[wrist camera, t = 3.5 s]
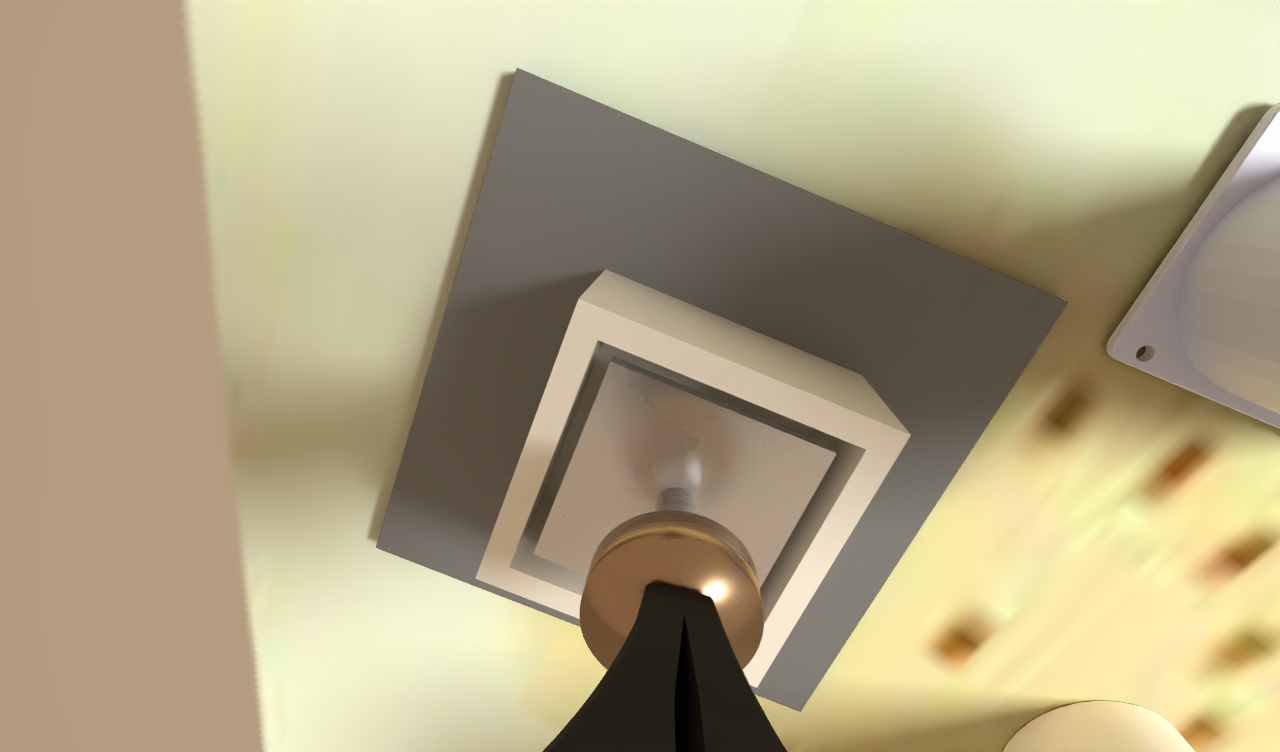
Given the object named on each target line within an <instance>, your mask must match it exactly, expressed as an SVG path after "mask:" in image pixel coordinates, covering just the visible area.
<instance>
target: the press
mask: <svg viewBox="0 0 1280 752" xmlns="http://www.w3.org/2000/svg"><path fill="white" fill-rule="evenodd" d="M613 356H614V357H617V358H619V359H622V360H624V361H626V362H629V363H631V364H634V365H636V366H639V367H641V368H644V369H646V370H649V371H651V372H654V373H656V374H658V375H661V376H663V377H666V378H668V379H671V380H673V381H676V382H678V383H681V384H683V385H685V386H688V387H690V388H693V389H695V390H698V391H700V392H703V393H705V394H708V395H710V396H712V397H715V398H717V399H720V400H722V401H725V402H727V403H730V404H732V405H735V406H737V407H739V408H742V409H744V410H747V411H749V412H752V413H754V414H757V415H759V416H762V417H764V418H766V419H769V420H771V421H774V422H776V423H779V424H781V425H784V426H786V427H789V428H791V429H793V430H796V431H798V432H801V433H803V434H806V435H808V436H811V437H813V438H816V439H818V440H820V441H823V442H825V443H828V444H830V445H833V447H834V449H835V451H836V453H837V454H836V456H835V458H834V459H833V461H832V463H831V465H830V466H829V468H828V470H827V472H826V473H825V475H824V477H823V479H822V480H821V482H820V484H819V486H818V488H817V489H816V491H815V493H814V495H813V496H812V498H811V500H810V502H809V503H808V505H807V507H806V509H805V510H804V512H803V514H802V516H801V517H800V519H799V521H798V523H797V524H796V526H795V528H794V530H793V531H792V533H791V535H790V537H789V538H788V540H787V542H786V544H785V545H784V547H783V549H782V551H781V553H780V554H779V556H778V558H777V560H776V561H775V563H774V565H773V567H772V568H771V570H770V572H769V574H768V575H767V577H766V579H765V581H764V582H763V584H762V586H761V588H760V596H761V602H762V609H763V615H764V629H763V636H762V639H761V642H760V646H759V648H758V650H757V652H756V654H755V655H754V657H753V658H752V660H751V661H750V663H749V664H748V665H747V666H746V667H745V668H744V669H743V672H744V674H745V676H746V678H747V680H748V682H749V684H750V685H751V686H754V687H756V688H757V687H758V685H759V684H760V682H761V680H762V679H763V677H764V675H765V674H766V672H767V671H768V669H769V667H770V666H771V664H772V662H773V661H774V659H775V657H776V656H777V654H778V652H779V651H780V649H781V648H782V646H783V644H784V643H785V641H786V639H787V638H788V636H789V634H790V633H791V631H792V629H793V628H794V626H795V625H796V623H797V621H798V620H799V618H800V616H801V615H802V613H803V611H804V610H805V608H806V606H807V605H808V603H809V602H810V600H811V598H812V597H813V595H814V593H815V592H816V590H817V588H818V587H819V585H820V583H821V582H822V580H823V579H824V577H825V575H826V574H827V572H828V570H829V569H830V567H831V565H832V564H833V562H834V561H835V559H836V557H837V556H838V554H839V552H840V551H841V549H842V547H843V546H844V544H845V542H846V541H847V539H848V538H849V536H850V534H851V533H852V531H853V529H854V528H855V526H856V524H857V523H858V521H859V519H860V518H861V516H862V515H863V513H864V511H865V510H866V508H867V506H868V505H869V503H870V501H871V500H872V498H873V496H874V495H875V493H876V492H877V490H878V488H879V487H880V485H881V483H882V482H883V480H884V478H885V477H886V475H887V473H888V472H889V470H890V469H891V467H892V465H893V464H894V462H895V460H896V459H897V457H898V455H899V454H900V452H901V451H902V449H903V447H904V446H905V444H906V442H907V441H908V439H909V437H910V436H911V435H910V433H909V432H908V431H907V430H906V428H905V427H904V426H903V425H902V423H901V422H900V421H899V420H898V419H897V417H896V416H895V415H894V414H893V412H892V411H891V410H890V409H889V408H888V406H887V405H886V404H885V403H884V401H883V400H882V399H881V398H880V397H879V395H878V394H877V393H876V392H875V390H874V389H873V388H872V387H871V386H870V384H869V383H868V382H867V381H866V379H865V378H864V377H863V376H862V375H860V374H858V373H855V372H853V371H851V370H848V369H846V368H843V367H841V366H839V365H836V364H834V363H831V362H829V361H826V360H824V359H822V358H819V357H817V356H814V355H812V354H809V353H807V352H805V351H802V350H800V349H797V348H795V347H793V346H790V345H788V344H785V343H783V342H780V341H778V340H776V339H773V338H771V337H768V336H766V335H764V334H761V333H759V332H756V331H754V330H751V329H749V328H747V327H744V326H742V325H739V324H737V323H734V322H732V321H730V320H727V319H725V318H722V317H720V316H718V315H715V314H713V313H710V312H708V311H705V310H703V309H701V308H698V307H696V306H693V305H691V304H689V303H686V302H684V301H681V300H679V299H676V298H674V297H672V296H669V295H667V294H664V293H662V292H660V291H657V290H655V289H652V288H650V287H647V286H645V285H643V284H640V283H638V282H635V281H633V280H630V279H628V278H626V277H623V276H621V275H618V274H616V273H614V272H611V271H609V270H606V269H605V270H604V272H603V273H602V274H601V275H600V276H599V277H598V278H597V279H596V280H595V281H594V282H593V283H592V285H591V286H590V287H589V288H588V289H587V290H586V291H585V292H584V293H583V294H582V295H581V297H580V298H579V299H578V302H577V304H576V307H575V310H574V312H573V315H572V318H571V320H570V323H569V326H568V329H567V331H566V334H565V337H564V339H563V342H562V345H561V348H560V350H559V353H558V356H557V358H556V361H555V364H554V367H553V369H552V372H551V375H550V377H549V380H548V383H547V386H546V388H545V391H544V394H543V396H542V399H541V402H540V405H539V407H538V410H537V413H536V415H535V418H534V421H533V423H532V426H531V429H530V432H529V434H528V437H527V440H526V442H525V445H524V448H523V451H522V453H521V456H520V459H519V461H518V464H517V467H516V470H515V472H514V475H513V478H512V480H511V483H510V486H509V489H508V491H507V494H506V497H505V499H504V502H503V505H502V508H501V510H500V513H499V516H498V518H497V521H496V524H495V527H494V529H493V532H492V535H491V537H490V540H489V543H488V545H487V548H486V551H485V554H484V556H483V559H482V562H481V564H480V567H479V570H478V573H477V575H476V578H475V579H477V580H480V581H483V582H485V583H488V584H490V585H493V586H495V587H498V588H501V589H503V590H506V591H508V592H511V593H514V594H516V595H519V596H521V597H524V598H526V599H529V600H532V601H534V602H537V603H539V604H542V605H545V606H547V607H550V608H552V609H555V610H557V611H560V612H563V613H565V614H568V615H570V616H573V617H576V618H578V619H580V618H579V615H580V603H581V598H582V594H583V590H584V587H585V583H586V579H587V575H585V574H582V573H580V572H577V571H574V570H572V569H569V568H567V567H564V566H562V565H559V564H557V563H554V562H551V561H549V560H546V559H544V558H541V557H539V556H536V555H534V554H533V553H534V551H535V548H536V546H537V543H538V541H539V538H540V536H541V533H542V531H543V528H544V526H545V523H546V521H547V518H548V516H549V513H550V511H551V508H552V506H553V503H554V501H555V498H556V496H557V493H558V491H559V489H560V486H561V484H562V481H563V479H564V476H565V474H566V471H567V469H568V466H569V464H570V461H571V459H572V456H573V454H574V451H575V449H576V446H577V444H578V441H579V439H580V436H581V434H582V431H583V429H584V426H585V424H586V421H587V419H588V416H589V414H590V411H591V409H592V406H593V404H594V401H595V399H596V396H597V394H598V392H599V389H600V387H601V384H602V382H603V379H604V377H605V374H606V372H607V369H608V367H609V364H610V362H611V359H612V357H613Z"/></svg>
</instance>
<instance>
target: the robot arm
mask: <svg viewBox="0 0 1280 752" xmlns="http://www.w3.org/2000/svg"><path fill="white" fill-rule="evenodd" d="M1143 346H1145V348H1146V350H1145V353H1144V354H1143V355H1142V356H1141V357H1138V358H1136V353H1137V351H1138V350H1139V349H1140V348H1141V347H1143ZM1106 350H1107V352H1108V354H1109V356H1111V357H1112V358H1113V359H1116V360H1118V361H1120V362H1122V363H1125V364H1127V365H1129V366H1132V367H1134V368H1137V369H1139V370H1141V371H1144V372H1146V373H1148V374H1151V375H1153V376H1155V377H1158V378H1160V379H1163V380H1165V381H1167V382H1170V383H1172V384H1174V385H1177V386H1179V387H1182V388H1184V389H1186V390H1189V391H1191V392H1193V393H1196V394H1198V395H1200V396H1203V397H1205V398H1208V399H1210V400H1212V401H1215V402H1217V403H1219V404H1222V405H1224V406H1226V407H1229V408H1231V409H1234V410H1236V411H1238V412H1241V413H1243V414H1245V415H1248V416H1250V417H1253V418H1255V419H1257V420H1260V421H1262V422H1264V423H1267V424H1269V425H1271V426H1274V427H1276V428H1279V429H1280V103H1278V104H1276V105H1274V106H1272V107H1271V108H1270V109H1269V110H1268V111H1267V112H1266V113H1265V114H1264V116H1263V117H1262V119H1261V120H1260V121H1259V123H1258V124H1257V126H1256V127H1255V129H1254V130H1253V132H1252V133H1251V134H1250V136H1249V137H1248V139H1247V140H1246V142H1245V143H1244V145H1243V146H1242V147H1241V149H1240V150H1239V152H1238V153H1237V155H1236V156H1235V158H1234V159H1233V160H1232V162H1231V163H1230V165H1229V166H1228V168H1227V169H1226V171H1225V172H1224V173H1223V175H1222V176H1221V178H1220V179H1219V181H1218V182H1217V184H1216V185H1215V186H1214V188H1213V189H1212V191H1211V192H1210V194H1209V195H1208V197H1207V198H1206V199H1205V201H1204V202H1203V204H1202V205H1201V207H1200V208H1199V210H1198V211H1197V212H1196V214H1195V215H1194V217H1193V218H1192V220H1191V221H1190V223H1189V224H1188V225H1187V227H1186V228H1185V230H1184V231H1183V233H1182V234H1181V236H1180V237H1179V239H1178V240H1177V241H1176V243H1175V244H1174V246H1173V247H1172V249H1171V250H1170V252H1169V253H1168V254H1167V256H1166V257H1165V259H1164V260H1163V262H1162V263H1161V265H1160V266H1159V267H1158V269H1157V270H1156V272H1155V273H1154V275H1153V276H1152V278H1151V279H1150V280H1149V282H1148V283H1147V285H1146V286H1145V288H1144V289H1143V291H1142V292H1141V293H1140V295H1139V296H1138V298H1137V299H1136V301H1135V302H1134V304H1133V305H1132V306H1131V308H1130V309H1129V311H1128V312H1127V314H1126V315H1125V317H1124V318H1123V319H1122V321H1121V322H1120V324H1119V325H1118V327H1117V328H1116V330H1115V331H1114V332H1113V334H1112V335H1111V337H1110V338H1109V340H1108V342H1107V349H1106ZM543 752H787V751H786V749H785V747H784V746H783V744H782V742H781V741H780V739H779V738H778V736H777V734H776V732H775V731H774V729H773V727H772V726H771V724H770V722H769V720H768V718H767V717H766V715H765V713H764V711H763V709H762V708H761V706H760V704H759V702H758V700H757V698H756V696H755V694H754V692H753V690H752V688H751V687H750V684H749V682H748V680H747V678H746V676H745V674H744V672H743V670H742V668H741V666H740V664H739V661H738V659H737V657H736V655H735V653H734V650H733V648H732V646H731V643H730V641H729V639H728V636H727V634H726V632H725V629H724V627H723V624H722V622H721V619H720V616H719V614H718V611H717V608H716V606H715V603H714V601H713V599H712V598H711V596H707V595H703V594H699V593H695V592H691V591H687V590H683V589H679V588H675V587H671V586H667V585H663V584H659V583H655V582H651V583H649V584H647V585H646V587H645V590H644V594H643V597H642V601H641V604H640V608H639V611H638V615H637V618H636V621H635V623H634V625H633V627H632V629H631V631H630V633H629V635H628V637H627V639H626V641H625V643H624V645H623V646H622V648H621V650H620V652H619V653H618V655H617V657H616V658H615V660H614V661H613V663H612V664H611V666H610V668H609V669H608V671H607V672H606V674H605V675H604V677H603V678H602V680H601V681H600V683H599V684H598V686H597V687H596V688H595V690H594V691H593V693H592V694H591V695H590V697H589V698H588V699H587V701H586V702H585V703H584V704H583V706H582V707H581V708H580V710H579V711H578V712H577V713H576V714H575V716H574V717H573V718H572V719H571V720H570V722H569V723H568V724H567V725H566V726H565V727H564V729H563V730H562V731H561V732H560V733H559V734H558V735H557V737H556V738H555V739H554V740H553V741H552V742H551V743H550V744H549V745H548V746H547V747H546V748H545V750H544V751H543Z"/></svg>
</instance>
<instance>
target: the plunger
mask: <svg viewBox="0 0 1280 752" xmlns="http://www.w3.org/2000/svg"><path fill="white" fill-rule="evenodd" d="M836 454H837V453H836V451H835V449H834V447H833V445H830V444H828V443H825V442H823V441H820V440H818V439H816V438H813V437H811V436H808V435H806V434H803V433H801V432H798V431H796V430H793V429H791V428H789V427H786V426H784V425H781V424H779V423H776V422H774V421H771V420H769V419H766V418H764V417H762V416H759V415H757V414H754V413H752V412H749V411H747V410H744V409H742V408H739V407H737V406H735V405H732V404H730V403H727V402H725V401H722V400H720V399H717V398H715V397H712V396H710V395H708V394H705V393H703V392H700V391H698V390H695V389H693V388H690V387H688V386H685V385H683V384H681V383H678V382H676V381H673V380H671V379H668V378H666V377H663V376H661V375H658V374H656V373H654V372H651V371H649V370H646V369H644V368H641V367H639V366H636V365H634V364H631V363H629V362H626V361H624V360H622V359H619V358H617V357H614V356H613V357H612V359H611V362H610V364H609V367H608V369H607V372H606V374H605V377H604V379H603V382H602V384H601V387H600V389H599V392H598V394H597V396H596V399H595V401H594V404H593V406H592V409H591V411H590V414H589V416H588V419H587V421H586V424H585V426H584V429H583V431H582V434H581V436H580V439H579V441H578V444H577V446H576V449H575V451H574V454H573V456H572V459H571V461H570V464H569V466H568V469H567V471H566V474H565V476H564V479H563V481H562V484H561V486H560V489H559V491H558V493H557V496H556V498H555V501H554V503H553V506H552V508H551V511H550V513H549V516H548V518H547V521H546V523H545V526H544V528H543V531H542V533H541V536H540V538H539V541H538V543H537V546H536V548H535V551H534V553H533V554H534V555H536V556H539V557H541V558H544V559H546V560H549V561H551V562H554V563H557V564H559V565H562V566H564V567H567V568H569V569H572V570H574V571H577V572H580V573H582V574H585V575H587V579H586V583H585V587H584V590H583V594H582V598H581V603H580V615H579V618H580V625H581V630H582V633H583V637H584V639H585V641H586V643H587V645H588V647H589V649H590V650H591V652H592V654H593V655H594V656H595V657H596V659H597V660H598V661H599V662H600V663H601V664H602V665H603V666H604V667H605V668H606V669H607V670H608V669H609V668H610V666H611V664H612V663H613V661H614V660H615V658H616V657H617V655H618V653H619V652H620V650H621V648H622V646H623V645H624V643H625V641H626V639H627V637H628V635H629V633H630V631H631V629H632V627H633V625H634V623H635V621H636V618H637V615H638V611H639V608H640V604H641V601H642V597H643V594H644V590H645V587H646V585H647V584H649V583H651V582H655V583H659V584H663V585H667V586H671V587H675V588H679V589H683V590H687V591H691V592H695V593H699V594H703V595H707V596H711V598H712V599H713V601H714V603H715V606H716V608H717V611H718V614H719V616H720V619H721V622H722V624H723V627H724V629H725V632H726V634H727V636H728V639H729V641H730V643H731V646H732V648H733V650H734V653H735V655H736V657H737V659H738V661H739V664H740V666H741V668H742V670H743V669H744V668H745V667H746V666H747V665H748V664H749V663H750V661H751V660H752V658H753V657H754V655H755V654H756V652H757V650H758V648H759V646H760V642H761V639H762V636H763V629H764V615H763V609H762V602H761V596H760V588H761V586H762V584H763V582H764V581H765V579H766V577H767V575H768V574H769V572H770V570H771V568H772V567H773V565H774V563H775V561H776V560H777V558H778V556H779V554H780V553H781V551H782V549H783V547H784V545H785V544H786V542H787V540H788V538H789V537H790V535H791V533H792V531H793V530H794V528H795V526H796V524H797V523H798V521H799V519H800V517H801V516H802V514H803V512H804V510H805V509H806V507H807V505H808V503H809V502H810V500H811V498H812V496H813V495H814V493H815V491H816V489H817V488H818V486H819V484H820V482H821V480H822V479H823V477H824V475H825V473H826V472H827V470H828V468H829V466H830V465H831V463H832V461H833V459H834V458H835V456H836Z"/></svg>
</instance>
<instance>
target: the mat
mask: <svg viewBox="0 0 1280 752" xmlns="http://www.w3.org/2000/svg"><path fill="white" fill-rule="evenodd" d="M605 269H606V270H609V271H611V272H614V273H616V274H618V275H621V276H623V277H626V278H628V279H630V280H633V281H635V282H638V283H640V284H643V285H645V286H647V287H650V288H652V289H655V290H657V291H660V292H662V293H664V294H667V295H669V296H672V297H674V298H676V299H679V300H681V301H684V302H686V303H689V304H691V305H693V306H696V307H698V308H701V309H703V310H705V311H708V312H710V313H713V314H715V315H718V316H720V317H722V318H725V319H727V320H730V321H732V322H734V323H737V324H739V325H742V326H744V327H747V328H749V329H751V330H754V331H756V332H759V333H761V334H764V335H766V336H768V337H771V338H773V339H776V340H778V341H780V342H783V343H785V344H788V345H790V346H793V347H795V348H797V349H800V350H802V351H805V352H807V353H809V354H812V355H814V356H817V357H819V358H822V359H824V360H826V361H829V362H831V363H834V364H836V365H839V366H841V367H843V368H846V369H848V370H851V371H853V372H855V373H858V374H860V375H862V376H863V377H864V378H865V379H866V381H867V382H868V383H869V384H870V386H871V387H872V388H873V389H874V390H875V392H876V393H877V394H878V395H879V397H880V398H881V399H882V400H883V401H884V403H885V404H886V405H887V406H888V408H889V409H890V410H891V411H892V412H893V414H894V415H895V416H896V417H897V419H898V420H899V421H900V422H901V423H902V425H903V426H904V427H905V428H906V430H907V431H908V432H909V433H910V435H911V436H910V437H909V439H908V441H907V442H906V444H905V446H904V447H903V449H902V451H901V452H900V454H899V455H898V457H897V459H896V460H895V462H894V464H893V465H892V467H891V469H890V470H889V472H888V473H887V475H886V477H885V478H884V480H883V482H882V483H881V485H880V487H879V488H878V490H877V492H876V493H875V495H874V496H873V498H872V500H871V501H870V503H869V505H868V506H867V508H866V510H865V511H864V513H863V515H862V516H861V518H860V519H859V521H858V523H857V524H856V526H855V528H854V529H853V531H852V533H851V534H850V536H849V538H848V539H847V541H846V542H845V544H844V546H843V547H842V549H841V551H840V552H839V554H838V556H837V557H836V559H835V561H834V562H833V564H832V565H831V567H830V569H829V570H828V572H827V574H826V575H825V577H824V579H823V580H822V582H821V583H820V585H819V587H818V588H817V590H816V592H815V593H814V595H813V597H812V598H811V600H810V602H809V603H808V605H807V606H806V608H805V610H804V611H803V613H802V615H801V616H800V618H799V620H798V621H797V623H796V625H795V626H794V628H793V629H792V631H791V633H790V634H789V636H788V638H787V639H786V641H785V643H784V644H783V646H782V648H781V649H780V651H779V652H778V654H777V656H776V657H775V659H774V661H773V662H772V664H771V666H770V667H769V669H768V671H767V672H766V674H765V675H764V677H763V679H762V680H761V682H760V684H759V685H758V687H757V688H756V687H754V686H751V685H750V687H751V688H752V690H753V692H754V694H756V695H758V696H761V697H763V698H766V699H769V700H771V701H774V702H776V703H779V704H781V705H784V706H787V707H789V708H792V709H794V710H797V711H800V712H801V710H802V709H803V707H804V706H805V704H806V703H807V701H808V699H809V698H810V696H811V695H812V693H813V692H814V690H815V689H816V687H817V686H818V684H819V683H820V681H821V680H822V678H823V677H824V675H825V673H826V672H827V670H828V669H829V667H830V666H831V664H832V663H833V661H834V660H835V658H836V657H837V655H838V654H839V652H840V651H841V649H842V647H843V646H844V644H845V643H846V641H847V640H848V638H849V637H850V635H851V634H852V632H853V631H854V629H855V628H856V626H857V624H858V623H859V621H860V620H861V618H862V617H863V615H864V614H865V612H866V611H867V609H868V608H869V606H870V605H871V603H872V602H873V600H874V598H875V597H876V595H877V594H878V592H879V591H880V589H881V588H882V586H883V585H884V583H885V582H886V580H887V579H888V577H889V575H890V574H891V572H892V571H893V569H894V568H895V566H896V565H897V563H898V562H899V560H900V559H901V557H902V556H903V554H904V553H905V551H906V549H907V548H908V546H909V545H910V543H911V542H912V540H913V539H914V537H915V536H916V534H917V533H918V531H919V530H920V528H921V526H922V525H923V523H924V522H925V520H926V519H927V517H928V516H929V514H930V513H931V511H932V510H933V508H934V507H935V505H936V504H937V502H938V500H939V499H940V497H941V496H942V494H943V493H944V491H945V490H946V488H947V487H948V485H949V484H950V482H951V481H952V479H953V478H954V476H955V474H956V473H957V471H958V470H959V468H960V467H961V465H962V464H963V462H964V461H965V459H966V458H967V456H968V455H969V453H970V451H971V450H972V448H973V447H974V445H975V444H976V442H977V441H978V439H979V438H980V436H981V435H982V433H983V432H984V430H985V429H986V427H987V425H988V424H989V422H990V421H991V419H992V418H993V416H994V415H995V413H996V412H997V410H998V409H999V407H1000V406H1001V404H1002V402H1003V401H1004V399H1005V398H1006V396H1007V395H1008V393H1009V392H1010V390H1011V389H1012V387H1013V386H1014V384H1015V383H1016V381H1017V380H1018V378H1019V376H1020V375H1021V373H1022V372H1023V370H1024V369H1025V367H1026V366H1027V364H1028V363H1029V361H1030V360H1031V358H1032V357H1033V355H1034V354H1035V352H1036V350H1037V349H1038V347H1039V346H1040V344H1041V343H1042V341H1043V340H1044V338H1045V337H1046V335H1047V334H1048V332H1049V331H1050V329H1051V327H1052V326H1053V324H1054V323H1055V321H1056V320H1057V318H1058V317H1059V315H1060V314H1061V312H1062V311H1063V309H1064V308H1065V306H1066V305H1067V303H1068V302H1067V301H1064V300H1062V299H1059V298H1057V297H1055V296H1052V295H1050V294H1048V293H1045V292H1043V291H1041V290H1038V289H1036V288H1034V287H1031V286H1029V285H1027V284H1024V283H1022V282H1020V281H1017V280H1015V279H1012V278H1010V277H1008V276H1005V275H1003V274H1001V273H998V272H996V271H994V270H991V269H989V268H987V267H984V266H982V265H980V264H977V263H975V262H972V261H970V260H968V259H965V258H963V257H961V256H958V255H956V254H954V253H951V252H949V251H947V250H944V249H942V248H940V247H937V246H935V245H933V244H930V243H928V242H925V241H923V240H921V239H918V238H916V237H914V236H911V235H909V234H907V233H904V232H902V231H900V230H897V229H895V228H893V227H890V226H888V225H886V224H883V223H881V222H878V221H876V220H874V219H871V218H869V217H867V216H864V215H862V214H860V213H857V212H855V211H853V210H850V209H848V208H846V207H843V206H841V205H838V204H836V203H834V202H831V201H829V200H827V199H824V198H822V197H820V196H817V195H815V194H813V193H810V192H808V191H806V190H803V189H801V188H799V187H796V186H794V185H791V184H789V183H787V182H784V181H782V180H780V179H777V178H775V177H773V176H770V175H768V174H766V173H763V172H761V171H759V170H756V169H754V168H752V167H749V166H747V165H744V164H742V163H740V162H737V161H735V160H733V159H730V158H728V157H726V156H723V155H721V154H719V153H716V152H714V151H712V150H709V149H707V148H704V147H702V146H700V145H697V144H695V143H693V142H690V141H688V140H686V139H683V138H681V137H679V136H676V135H674V134H672V133H669V132H667V131H665V130H662V129H660V128H657V127H655V126H653V125H650V124H648V123H646V122H643V121H641V120H639V119H636V118H634V117H632V116H629V115H627V114H625V113H622V112H620V111H618V110H615V109H613V108H610V107H608V106H606V105H603V104H601V103H599V102H596V101H594V100H592V99H589V98H587V97H585V96H582V95H580V94H578V93H575V92H573V91H571V90H568V89H566V88H563V87H561V86H559V85H556V84H554V83H552V82H549V81H547V80H545V79H542V78H540V77H538V76H535V75H533V74H531V73H528V72H526V71H523V70H521V69H519V68H517V69H516V73H515V76H514V79H513V83H512V86H511V90H510V93H509V96H508V100H507V103H506V107H505V110H504V113H503V117H502V120H501V124H500V127H499V130H498V134H497V137H496V141H495V144H494V147H493V151H492V154H491V158H490V161H489V164H488V168H487V171H486V175H485V178H484V181H483V185H482V188H481V192H480V195H479V198H478V202H477V205H476V209H475V212H474V215H473V219H472V222H471V226H470V229H469V232H468V236H467V239H466V243H465V246H464V249H463V253H462V256H461V260H460V263H459V266H458V270H457V273H456V277H455V280H454V283H453V287H452V290H451V294H450V297H449V301H448V304H447V307H446V311H445V314H444V318H443V321H442V324H441V328H440V331H439V335H438V338H437V341H436V345H435V348H434V352H433V355H432V358H431V362H430V365H429V369H428V372H427V375H426V379H425V382H424V386H423V389H422V392H421V396H420V399H419V403H418V406H417V409H416V413H415V416H414V420H413V423H412V426H411V430H410V433H409V437H408V440H407V443H406V447H405V450H404V454H403V457H402V460H401V464H400V467H399V471H398V474H397V477H396V481H395V484H394V488H393V491H392V494H391V498H390V501H389V505H388V508H387V511H386V515H385V518H384V522H383V525H382V528H381V532H380V535H379V539H378V542H377V545H376V548H378V549H381V550H383V551H386V552H388V553H391V554H393V555H396V556H399V557H401V558H404V559H406V560H409V561H412V562H414V563H417V564H419V565H422V566H425V567H427V568H430V569H432V570H435V571H437V572H440V573H443V574H445V575H448V576H450V577H453V578H456V579H458V580H461V581H463V582H466V583H468V584H471V585H474V586H476V587H479V588H481V589H484V590H487V591H489V592H492V593H494V594H497V595H500V596H502V597H505V598H507V599H510V600H512V601H515V602H518V603H520V604H523V605H525V606H528V607H531V608H533V609H536V610H538V611H541V612H544V613H546V614H549V615H551V616H554V617H556V618H559V619H562V620H564V621H567V622H569V623H572V624H575V625H577V626H580V627H581V625H580V619H578V618H576V617H573V616H570V615H568V614H565V613H563V612H560V611H557V610H555V609H552V608H550V607H547V606H545V605H542V604H539V603H537V602H534V601H532V600H529V599H526V598H524V597H521V596H519V595H516V594H514V593H511V592H508V591H506V590H503V589H501V588H498V587H495V586H493V585H490V584H488V583H485V582H483V581H480V580H477V579H475V578H476V575H477V573H478V570H479V567H480V564H481V562H482V559H483V556H484V554H485V551H486V548H487V545H488V543H489V540H490V537H491V535H492V532H493V529H494V527H495V524H496V521H497V518H498V516H499V513H500V510H501V508H502V505H503V502H504V499H505V497H506V494H507V491H508V489H509V486H510V483H511V480H512V478H513V475H514V472H515V470H516V467H517V464H518V461H519V459H520V456H521V453H522V451H523V448H524V445H525V442H526V440H527V437H528V434H529V432H530V429H531V426H532V423H533V421H534V418H535V415H536V413H537V410H538V407H539V405H540V402H541V399H542V396H543V394H544V391H545V388H546V386H547V383H548V380H549V377H550V375H551V372H552V369H553V367H554V364H555V361H556V358H557V356H558V353H559V350H560V348H561V345H562V342H563V339H564V337H565V334H566V331H567V329H568V326H569V323H570V320H571V318H572V315H573V312H574V310H575V307H576V304H577V302H578V299H579V298H580V297H581V295H582V294H583V293H584V292H585V291H586V290H587V289H588V288H589V287H590V286H591V285H592V283H593V282H594V281H595V280H596V279H597V278H598V277H599V276H600V275H601V274H602V273H603V272H604V270H605Z"/></svg>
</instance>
